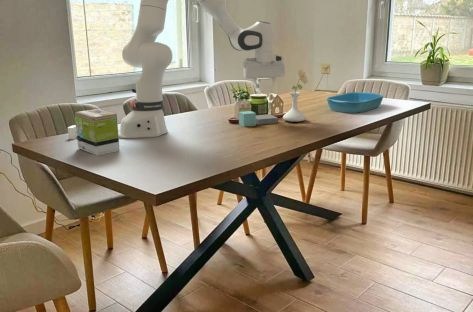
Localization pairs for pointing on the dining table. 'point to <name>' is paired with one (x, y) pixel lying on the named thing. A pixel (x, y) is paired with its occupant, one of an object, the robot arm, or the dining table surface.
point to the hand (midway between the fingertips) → (264, 87)
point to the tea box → (97, 131)
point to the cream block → (264, 85)
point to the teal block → (247, 118)
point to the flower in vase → (294, 112)
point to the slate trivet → (266, 119)
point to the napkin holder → (72, 132)
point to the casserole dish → (354, 101)
